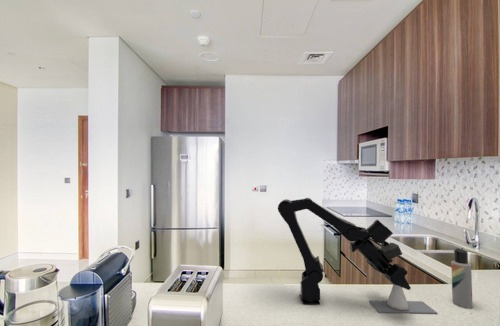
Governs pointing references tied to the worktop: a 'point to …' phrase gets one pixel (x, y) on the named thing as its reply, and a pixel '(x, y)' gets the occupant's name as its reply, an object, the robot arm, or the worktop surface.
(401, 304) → the flask
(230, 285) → the worktop surface
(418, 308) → the charcoal mat
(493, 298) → the worktop surface
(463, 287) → the lotion bottle
